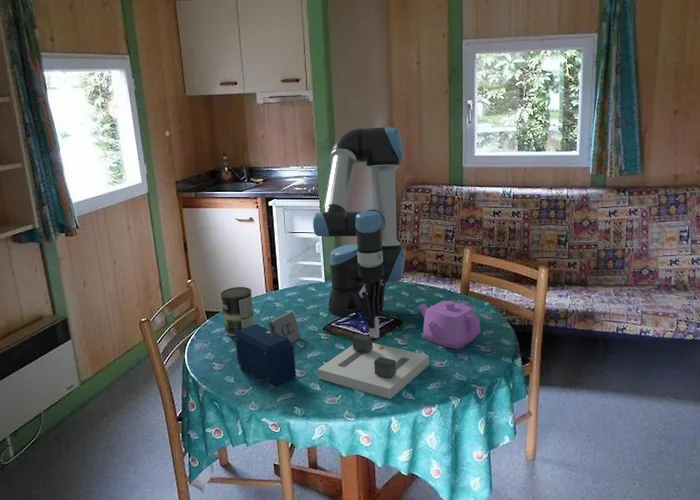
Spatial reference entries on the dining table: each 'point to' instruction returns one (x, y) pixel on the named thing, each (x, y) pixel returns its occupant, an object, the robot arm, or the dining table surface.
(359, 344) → the block
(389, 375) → the block
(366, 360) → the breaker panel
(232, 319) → the coffee can
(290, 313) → the electrical switch
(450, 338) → the teakettle
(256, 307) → the dining table surface
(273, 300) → the dining table surface
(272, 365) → the radio
